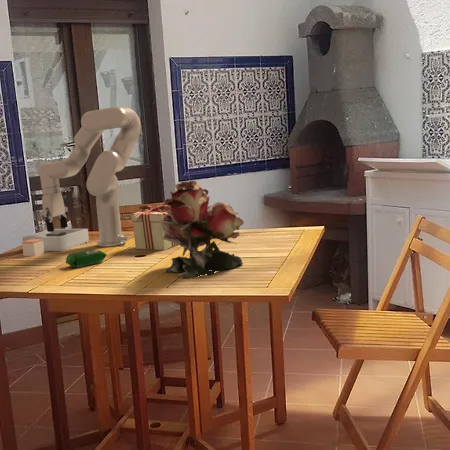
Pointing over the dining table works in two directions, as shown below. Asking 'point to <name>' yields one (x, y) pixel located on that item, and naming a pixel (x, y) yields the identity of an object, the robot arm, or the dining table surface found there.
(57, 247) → the tote
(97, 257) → the snack package
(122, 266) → the dining table surface
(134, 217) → the gift box
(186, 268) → the rose bouquet
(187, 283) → the dining table surface
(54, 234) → the block
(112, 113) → the robot arm
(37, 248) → the orange and beige cube
